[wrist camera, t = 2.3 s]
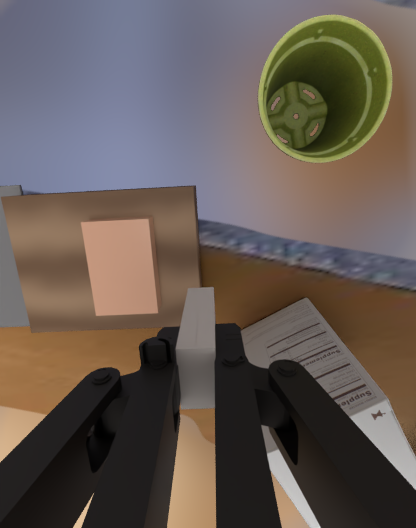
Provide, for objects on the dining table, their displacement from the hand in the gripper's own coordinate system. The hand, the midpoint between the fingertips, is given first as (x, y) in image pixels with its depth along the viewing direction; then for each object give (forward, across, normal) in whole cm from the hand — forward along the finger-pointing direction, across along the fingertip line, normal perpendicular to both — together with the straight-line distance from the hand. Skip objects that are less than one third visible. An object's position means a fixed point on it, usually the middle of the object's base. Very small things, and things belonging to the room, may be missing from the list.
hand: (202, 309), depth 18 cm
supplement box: (+16, -9, +12) cm, 22 cm away
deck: (+16, +10, 0) cm, 19 cm away
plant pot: (+17, -9, -13) cm, 23 cm away
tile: (+12, +8, 0) cm, 14 cm away
